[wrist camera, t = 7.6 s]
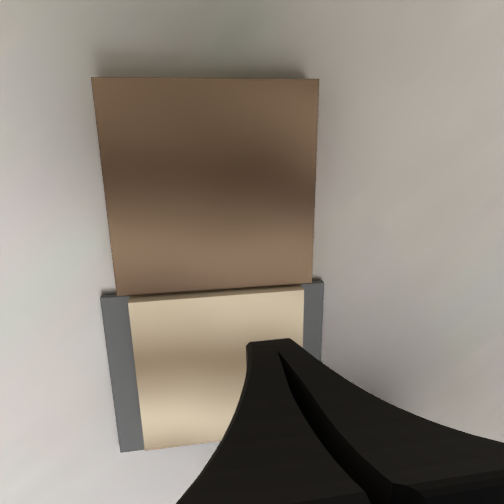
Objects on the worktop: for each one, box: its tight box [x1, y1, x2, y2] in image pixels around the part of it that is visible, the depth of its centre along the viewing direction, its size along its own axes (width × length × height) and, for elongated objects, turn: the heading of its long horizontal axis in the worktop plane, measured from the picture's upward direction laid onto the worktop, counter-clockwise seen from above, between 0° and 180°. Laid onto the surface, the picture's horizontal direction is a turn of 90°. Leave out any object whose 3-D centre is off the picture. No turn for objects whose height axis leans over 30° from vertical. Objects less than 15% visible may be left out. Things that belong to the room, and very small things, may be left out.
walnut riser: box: [91, 77, 319, 296], centre depth 18 cm, size 9×9×2 cm
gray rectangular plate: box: [100, 280, 324, 452], centre depth 21 cm, size 9×11×1 cm
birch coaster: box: [128, 284, 304, 450], centre depth 20 cm, size 8×8×2 cm
